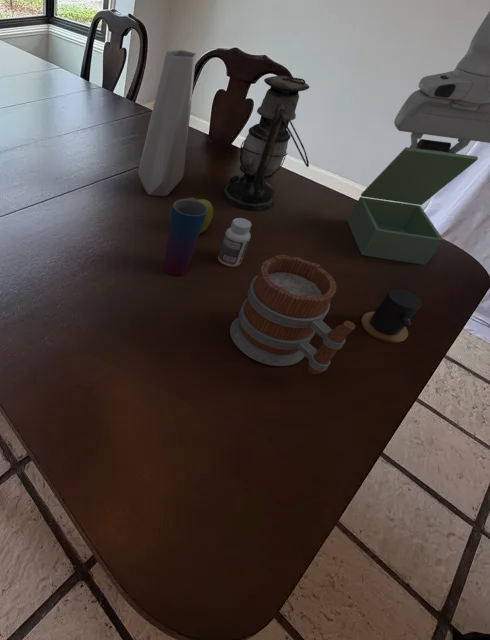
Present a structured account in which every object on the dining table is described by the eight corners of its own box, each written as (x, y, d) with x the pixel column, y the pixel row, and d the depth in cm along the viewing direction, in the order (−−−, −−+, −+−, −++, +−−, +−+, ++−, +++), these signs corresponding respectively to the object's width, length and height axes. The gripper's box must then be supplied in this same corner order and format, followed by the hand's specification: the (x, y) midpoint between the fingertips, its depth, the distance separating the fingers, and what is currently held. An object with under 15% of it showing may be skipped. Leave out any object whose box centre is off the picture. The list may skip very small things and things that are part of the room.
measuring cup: (366, 313, 89) (385, 286, 84) (395, 318, 88) (416, 291, 83) (377, 342, 83) (397, 314, 78) (408, 347, 83) (431, 320, 78)
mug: (271, 308, 89) (301, 245, 79) (343, 377, 77) (390, 313, 66) (214, 324, 85) (238, 260, 74) (280, 399, 73) (320, 335, 62)
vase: (128, 182, 126) (146, 46, 102) (165, 179, 128) (191, 46, 105) (143, 202, 118) (166, 60, 94) (182, 199, 120) (214, 60, 97)
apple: (206, 240, 104) (204, 198, 98) (175, 238, 109) (172, 198, 103) (218, 226, 109) (217, 186, 103) (188, 225, 113) (185, 186, 108)
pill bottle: (230, 251, 103) (243, 214, 96) (246, 264, 100) (260, 226, 93) (212, 257, 101) (224, 218, 94) (227, 269, 98) (241, 231, 91)
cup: (167, 256, 100) (180, 195, 90) (194, 267, 98) (212, 205, 87) (154, 271, 96) (167, 208, 85) (183, 282, 94) (200, 219, 83)
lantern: (222, 179, 130) (256, 63, 109) (288, 190, 128) (336, 73, 106) (219, 208, 118) (257, 83, 96) (292, 221, 115) (348, 96, 93)
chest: (425, 265, 104) (444, 240, 99) (361, 255, 105) (376, 230, 101) (404, 229, 115) (420, 205, 110) (347, 220, 117) (359, 196, 112)
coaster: (399, 317, 90) (401, 315, 89) (412, 346, 84) (414, 344, 83) (356, 310, 90) (358, 308, 90) (366, 338, 85) (367, 336, 84)
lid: (478, 159, 93) (478, 138, 94) (405, 150, 95) (406, 129, 96) (421, 205, 110) (421, 187, 111) (360, 196, 112) (361, 178, 113)
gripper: (519, 89, 89) (472, 157, 99) (413, 76, 92) (378, 144, 101) (534, 99, 85) (484, 168, 95) (423, 85, 87) (385, 155, 97)
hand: (428, 155), depth 98 cm, fingers closed on lid, 6 cm apart
